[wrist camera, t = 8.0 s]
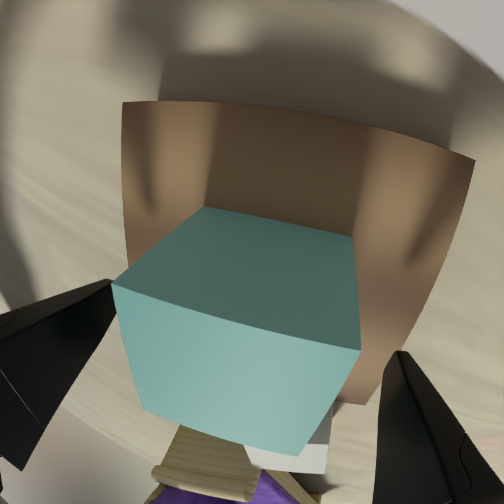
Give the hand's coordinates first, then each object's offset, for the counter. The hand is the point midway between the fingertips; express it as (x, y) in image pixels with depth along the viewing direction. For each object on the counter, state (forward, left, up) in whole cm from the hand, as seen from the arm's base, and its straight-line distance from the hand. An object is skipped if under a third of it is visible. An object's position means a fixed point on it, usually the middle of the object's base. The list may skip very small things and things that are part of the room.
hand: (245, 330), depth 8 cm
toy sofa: (-25, -3, -5) cm, 25 cm away
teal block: (0, 0, -3) cm, 3 cm away
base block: (0, 0, -6) cm, 6 cm away
